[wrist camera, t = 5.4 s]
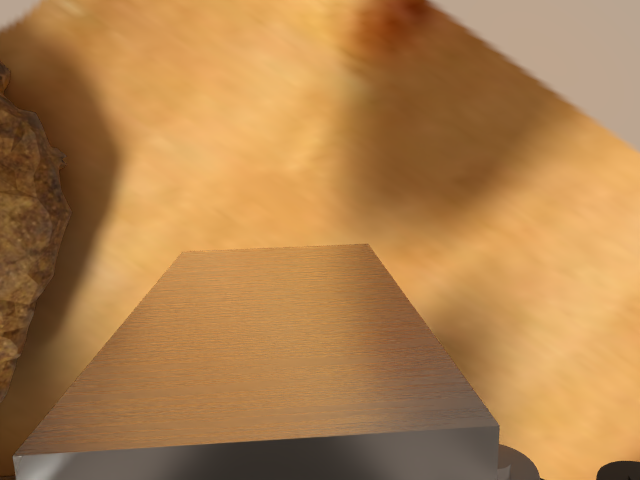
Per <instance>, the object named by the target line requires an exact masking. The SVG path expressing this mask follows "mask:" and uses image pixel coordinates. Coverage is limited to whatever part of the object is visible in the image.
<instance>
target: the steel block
mask: <svg viewBox="0 0 640 480" xmlns="http://www.w3.org/2000/svg"><path fill="white" fill-rule="evenodd" d="M498 447H499V424H498V423H497V422H496V420H495V419H494V417H493V416H492V415H491V413H490V412H489V410H488V409H487V408H486V406H485V405H484V404H483V402H482V401H481V399H480V398H479V397H478V395H477V394H476V392H475V391H474V390H473V388H472V387H471V386H470V384H469V383H468V381H467V380H466V379H465V377H464V376H463V375H462V373H461V372H460V370H459V369H458V368H457V366H456V365H455V363H454V362H453V361H452V359H451V358H450V357H449V355H448V354H447V352H446V351H445V350H444V348H443V347H442V345H441V344H440V343H439V341H438V340H437V339H436V337H435V336H434V334H433V333H432V332H431V330H430V329H429V327H428V326H427V325H426V323H425V322H424V321H423V319H422V318H421V316H420V315H419V314H418V312H417V311H416V309H415V308H414V307H413V305H412V304H411V303H410V301H409V300H408V298H407V297H406V296H405V294H404V293H403V291H402V290H401V289H400V287H399V286H398V285H397V283H396V282H395V280H394V279H393V278H392V276H391V275H390V273H389V272H388V271H387V269H386V268H385V267H384V265H383V264H382V262H381V261H380V260H379V258H378V257H377V255H376V254H375V253H374V251H373V250H372V249H371V247H370V246H369V244H354V245H331V246H307V247H283V248H259V249H236V250H212V251H188V252H182V253H181V254H180V255H179V256H178V257H177V259H176V260H175V261H174V262H173V264H172V265H171V266H170V267H169V268H168V270H167V271H166V272H165V273H164V274H163V276H162V277H161V278H160V279H159V280H158V282H157V283H156V284H155V285H154V286H153V288H152V289H151V290H150V291H149V292H148V294H147V295H146V296H145V297H144V298H143V300H142V301H141V302H140V303H139V304H138V306H137V307H136V308H135V309H134V310H133V312H132V313H131V314H130V315H129V316H128V318H127V319H126V320H125V321H124V322H123V324H122V325H121V326H120V327H119V329H118V330H117V331H116V332H115V333H114V335H113V336H112V337H111V338H110V339H109V341H108V342H107V343H106V344H105V345H104V347H103V348H102V349H101V350H100V351H99V353H98V354H97V355H96V356H95V357H94V359H93V360H92V361H91V362H90V363H89V365H88V366H87V367H86V368H85V369H84V371H83V372H82V373H81V374H80V375H79V377H78V378H77V379H76V380H75V381H74V383H73V384H72V385H71V386H70V388H69V389H68V390H67V391H66V392H65V394H64V395H63V396H62V397H61V398H60V400H59V401H58V402H57V403H56V404H55V406H54V407H53V408H52V409H51V410H50V412H49V413H48V414H47V415H46V416H45V418H44V419H43V420H42V421H41V422H40V424H39V425H38V426H37V427H36V428H35V430H34V431H33V432H32V433H31V434H30V436H29V437H28V438H27V439H26V440H25V442H24V443H23V444H22V445H21V447H20V448H19V449H18V450H17V451H16V453H15V454H14V455H13V456H12V457H13V463H14V469H15V475H16V480H497V469H498Z"/></svg>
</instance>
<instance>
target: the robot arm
mask: <svg viewBox="0 0 640 480" xmlns="http://www.w3.org/2000/svg"><path fill="white" fill-rule="evenodd" d="M497 480H544V479H541V478H540V476H539V472H538V470H537V468H536V466H535V465H534V463H533V462H532V461H531V460H530V459H529V458H528V457H526V456H525V455H524V454H522V453H520V452H519V451H517V450H515V449H513V448H510V447H507V446H504V445H501V444H499V447H498V469H497ZM596 480H640V462H635V461H617V462H612V463H609V464H606V465H604V466H603V467H601V468H600V470H599V471H598V473H597V478H596Z"/></svg>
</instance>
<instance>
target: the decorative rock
mask: <svg viewBox="0 0 640 480" xmlns="http://www.w3.org/2000/svg"><path fill="white" fill-rule="evenodd" d="M9 81H10V71H9V69H8V68H7V67H6V66H5V65H4V64H3V63H2V62H1V61H0V402H2V401H3V399H4V398H5V396H6V395H7V392H8V389H9V386H10V383H11V379H12V376H13V373H14V370H15V367H16V362H17V358H18V357H19V356H20V355H21V354H22V351H23V348H24V345H25V342H26V337H27V330H28V327H29V325H30V322H31V320H32V318H33V315H34V311H35V306H36V300H37V299H38V297H39V296H40V295H41V294H42V292H43V291H44V290H45V288H46V286H47V285H48V283H49V282H50V280H51V279H52V277H53V276H54V271H55V266H56V260H57V254H58V251H59V248H60V245H61V241H62V238H63V235H64V232H65V229H66V227H67V224H68V222H69V219H70V217H71V214H72V211H71V209H70V207H69V205H68V203H67V201H66V198H65V196H64V194H63V192H62V190H61V183H60V174H59V170H60V169H61V168H63V167H65V166H67V164H66V163H65V162H64V161H63V160H62V159H63V158H64V157H67V156H66V155H65V154H64V153H62V152H61V151H60V150H59V149H57V148H54V147H51V146H50V144H49V141H48V139H47V136H46V134H45V131H44V128H43V126H42V123H41V121H40V120H39V118H38V116H37V114H36V113H35V112H30V111H26V110H21V109H18V108H17V107H16V106H15V105H14V104H13V103H12V102H10V101H9V100H8V99H7V98H6V97H5V96H4V90H5V89H6V88H7V86H8V83H9Z"/></svg>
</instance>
